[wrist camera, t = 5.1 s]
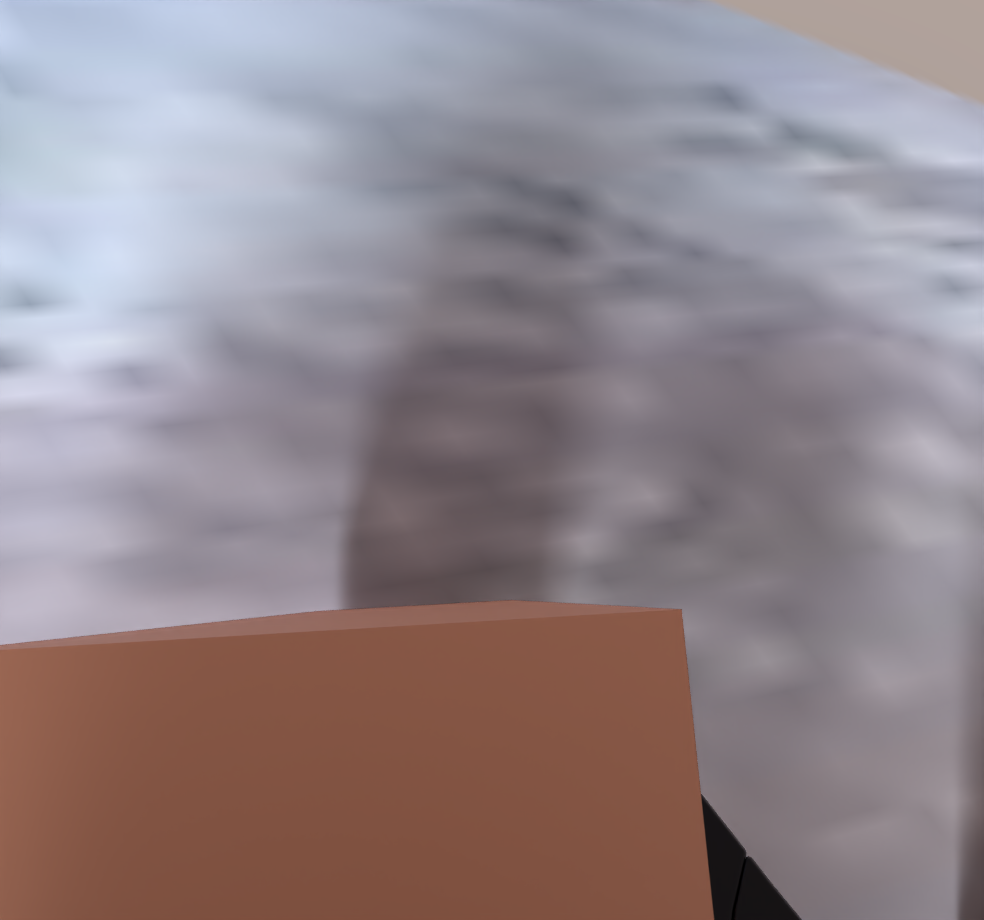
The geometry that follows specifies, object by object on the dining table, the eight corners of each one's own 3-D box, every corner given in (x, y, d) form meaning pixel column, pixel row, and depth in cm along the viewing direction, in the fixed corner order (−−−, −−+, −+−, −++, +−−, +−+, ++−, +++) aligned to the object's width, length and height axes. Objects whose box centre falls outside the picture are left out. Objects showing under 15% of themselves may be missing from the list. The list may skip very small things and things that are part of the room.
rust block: (523, 804, 16) (781, 1560, 3) (319, 820, 15) (-208, 1709, 3) (511, 600, 16) (680, 610, 4) (317, 611, 16) (-103, 655, 4)
